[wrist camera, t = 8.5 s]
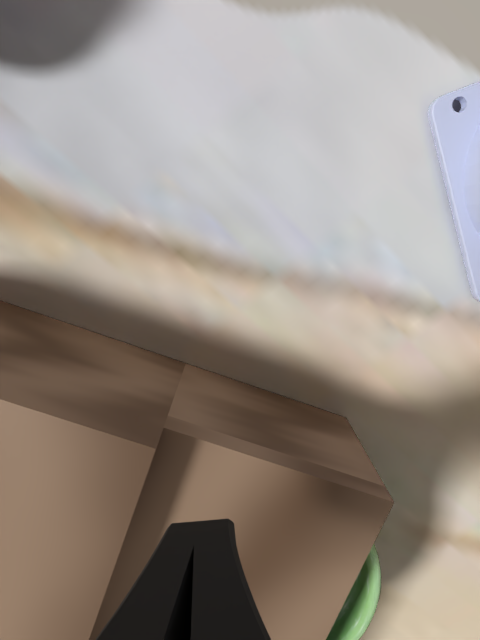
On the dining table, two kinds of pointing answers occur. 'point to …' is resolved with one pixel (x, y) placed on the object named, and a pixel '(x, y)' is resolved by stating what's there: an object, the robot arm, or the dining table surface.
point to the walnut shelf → (165, 482)
